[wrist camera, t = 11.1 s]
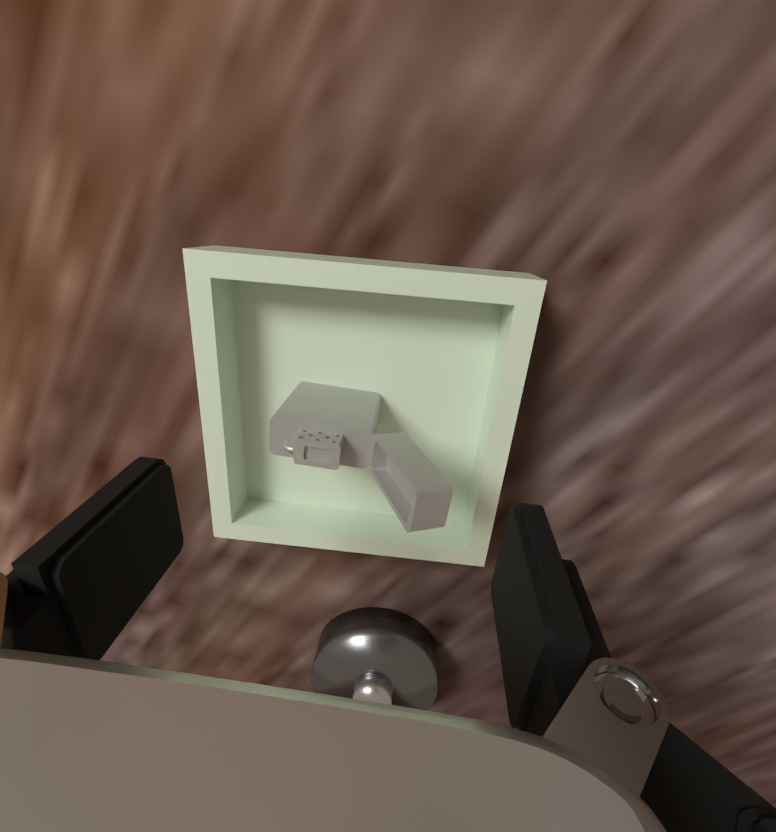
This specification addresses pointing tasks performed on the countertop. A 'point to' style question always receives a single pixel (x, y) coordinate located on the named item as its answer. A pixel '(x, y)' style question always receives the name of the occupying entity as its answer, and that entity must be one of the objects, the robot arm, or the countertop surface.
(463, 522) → the tray
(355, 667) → the pot lid
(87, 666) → the robot arm
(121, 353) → the countertop surface
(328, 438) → the lighter
